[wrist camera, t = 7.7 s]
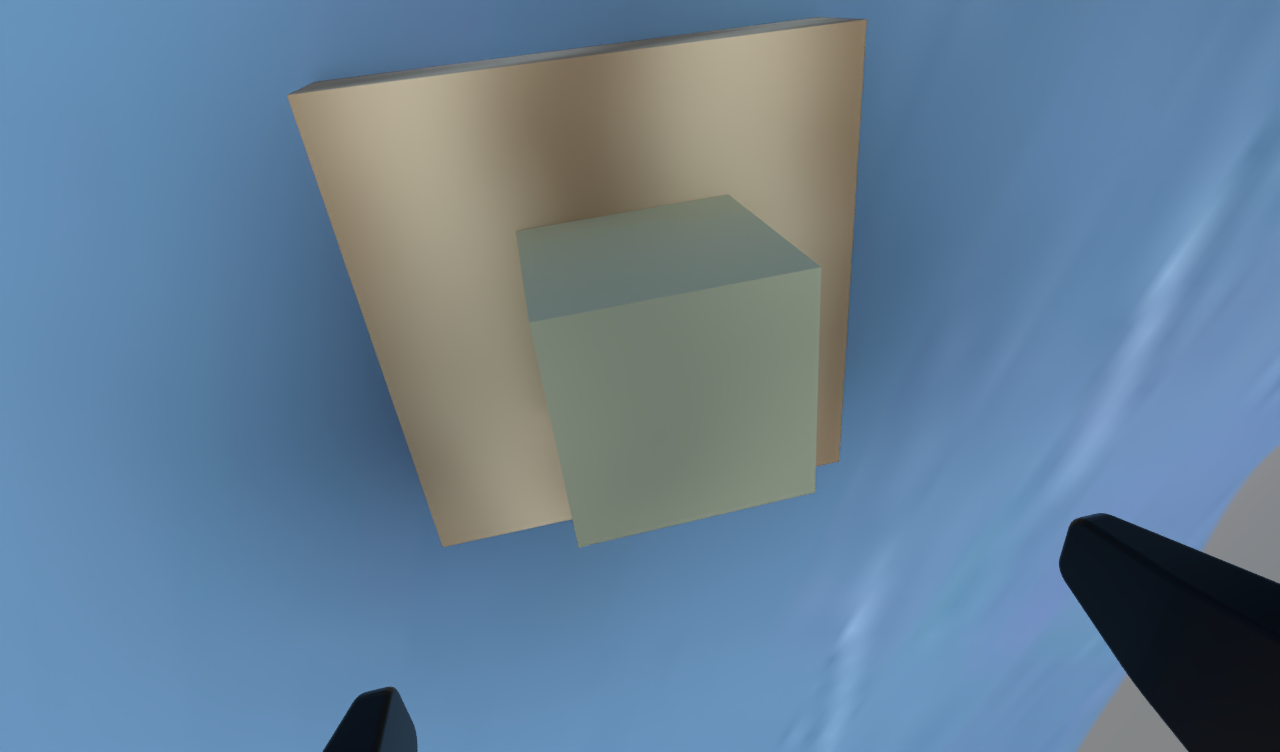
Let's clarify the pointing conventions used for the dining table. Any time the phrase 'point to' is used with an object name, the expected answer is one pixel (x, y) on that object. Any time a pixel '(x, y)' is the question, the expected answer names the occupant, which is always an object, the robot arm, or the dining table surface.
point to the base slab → (566, 218)
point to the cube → (674, 362)
